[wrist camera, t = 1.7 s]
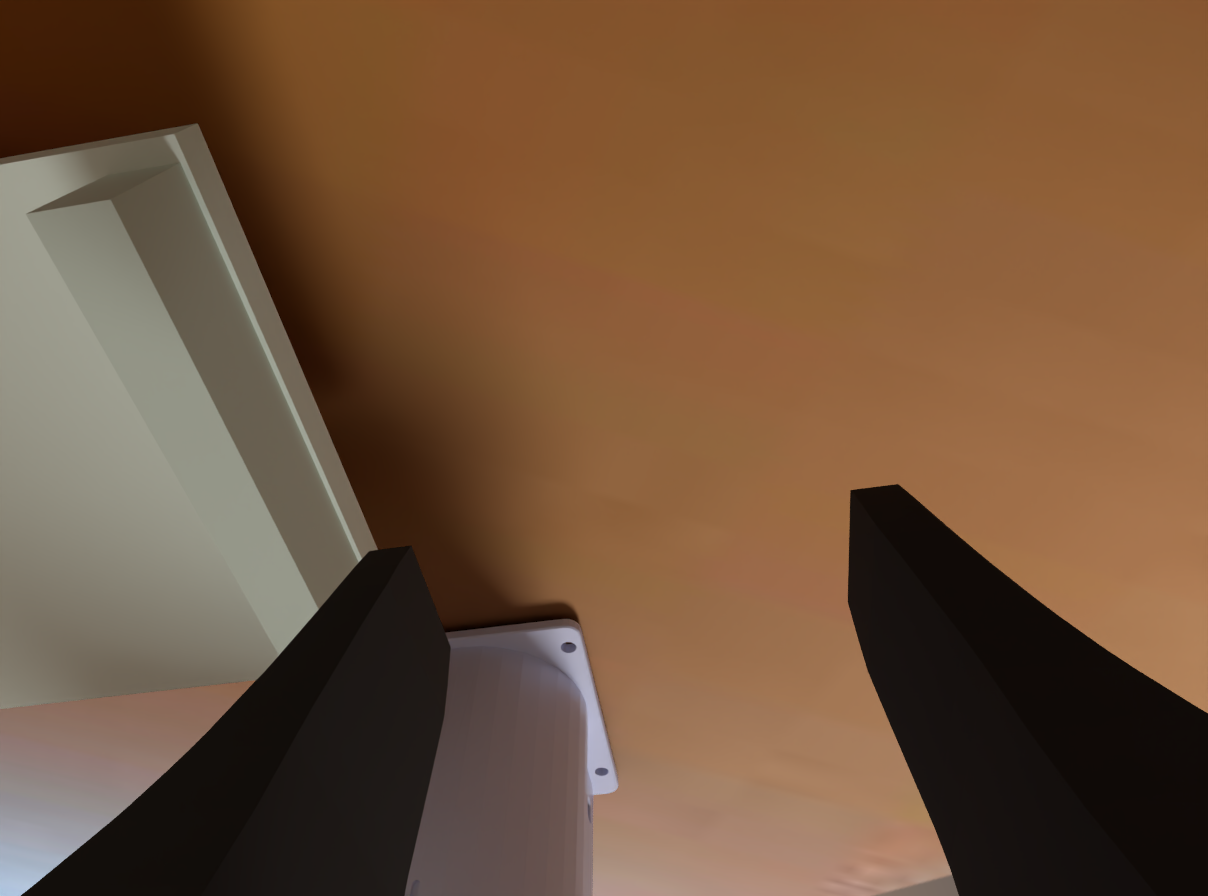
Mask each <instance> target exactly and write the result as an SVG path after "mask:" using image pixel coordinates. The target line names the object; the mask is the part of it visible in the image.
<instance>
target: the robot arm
mask: <svg viewBox="0 0 1208 896" xmlns="http://www.w3.org/2000/svg"><path fill="white" fill-rule="evenodd" d="M848 604H849V608H850V611H851V615H852V618H853V622H854V625H855V629H856V632H857V636H858V640H859V643H860V646H861V650H862V653H863V656H864V660H865V663H866V666H867V670H868V672H869V675H870V677H871V679H872V682H873V684H874V687H875V689H876V692H877V694H878V696H879V699H880V701H881V703H882V706H883V708H884V710H885V713H886V715H887V718H888V720H889V722H890V725H891V727H892V729H893V732H894V734H895V736H896V739H897V741H898V743H899V746H900V748H901V750H902V753H903V755H904V757H905V760H906V762H907V764H908V767H909V769H910V771H911V774H912V776H913V778H914V781H915V783H916V785H917V788H918V790H919V792H920V795H921V797H922V799H923V802H924V804H925V806H926V809H927V811H928V813H929V816H930V818H931V820H932V823H933V825H934V827H935V830H936V832H937V835H938V838H939V840H940V843H941V845H942V848H943V851H944V853H945V856H946V858H947V861H948V864H949V866H950V869H951V872H952V875H953V878H954V881H955V885H956V888H957V891H958V894H959V896H1208V713H1206V712H1204V711H1203V710H1201V709H1199V708H1198V707H1196V706H1194V705H1193V704H1191V703H1190V702H1188V701H1186V700H1185V699H1183V698H1182V697H1180V696H1178V695H1177V694H1175V693H1173V692H1172V691H1170V690H1169V689H1167V688H1165V687H1164V686H1162V685H1161V684H1159V683H1157V682H1156V681H1154V680H1153V679H1151V678H1149V677H1148V676H1146V675H1144V674H1143V673H1141V672H1140V671H1138V670H1136V669H1135V668H1133V667H1132V666H1130V665H1129V664H1127V663H1126V662H1124V661H1123V660H1121V659H1120V658H1118V657H1117V656H1115V655H1114V654H1112V653H1111V652H1109V651H1107V650H1106V649H1105V648H1103V647H1102V646H1100V645H1099V644H1097V643H1096V642H1094V641H1093V640H1092V639H1090V638H1089V637H1087V636H1086V635H1085V634H1083V633H1082V632H1080V631H1079V630H1078V629H1076V628H1075V627H1073V626H1072V625H1071V624H1069V623H1068V622H1066V621H1065V620H1064V619H1062V618H1061V617H1059V616H1058V615H1057V614H1055V613H1054V612H1053V611H1051V610H1050V609H1049V608H1047V607H1046V606H1045V605H1043V604H1042V603H1041V602H1040V601H1038V600H1037V599H1036V598H1034V597H1033V596H1032V595H1030V594H1029V593H1028V592H1027V591H1025V590H1024V589H1023V588H1022V587H1020V586H1019V585H1018V584H1017V583H1015V582H1014V581H1013V580H1011V579H1010V578H1009V577H1008V576H1006V575H1005V574H1004V573H1003V572H1001V571H1000V570H999V569H998V568H996V567H995V566H994V565H993V564H991V563H990V562H989V561H988V560H986V559H985V558H984V557H983V556H982V555H980V554H979V553H978V552H977V551H976V550H974V549H973V548H972V547H971V546H970V545H968V544H967V543H966V542H965V541H964V540H963V539H961V538H960V537H959V536H958V535H957V534H955V533H954V532H953V531H952V530H951V529H950V528H948V527H947V526H946V525H945V524H944V523H943V522H942V521H940V520H939V519H938V518H937V517H936V516H935V515H934V514H932V513H931V512H930V511H929V510H928V509H927V508H925V507H924V506H923V505H922V504H921V503H920V502H919V501H917V500H916V499H915V498H914V497H913V496H912V495H911V494H909V493H908V492H907V491H906V490H905V489H903V488H902V487H901V486H900V485H898V484H896V485H888V486H880V487H872V488H864V489H857V490H851V495H850V536H849V576H848ZM566 642H572V644H566ZM617 788H618V775H617V771H616V767H615V763H614V759H613V755H612V751H611V747H610V743H609V739H608V735H607V731H606V727H605V723H604V719H603V715H602V711H601V707H600V703H599V699H598V695H597V690H596V686H595V682H594V678H593V674H592V670H591V666H590V662H589V658H588V654H587V650H586V646H585V642H584V638H583V634H582V630H581V627H580V625H579V624H578V623H577V622H576V621H574V620H571V619H558V620H549V621H541V622H532V623H524V624H515V625H506V626H498V627H489V628H481V629H472V630H463V631H455V632H446V633H445V631H444V629H443V626H442V623H441V621H440V618H439V616H438V613H437V611H436V608H435V605H434V603H433V600H432V598H431V595H430V593H429V590H428V587H427V585H426V582H425V580H424V577H423V575H422V572H421V569H420V567H419V564H418V562H417V559H416V557H415V554H414V552H413V549H412V546H405V547H397V548H390V549H382V550H374V551H369V552H368V553H367V554H366V555H365V556H364V557H363V558H362V559H361V560H360V562H359V563H358V564H357V565H356V566H355V567H354V568H353V569H352V571H351V572H350V573H349V574H348V575H347V576H346V578H345V579H344V580H343V581H342V582H341V584H340V585H339V586H338V587H337V588H336V589H335V591H334V592H333V593H332V594H331V595H330V597H329V598H328V599H327V600H326V601H325V603H324V604H323V605H322V606H321V607H320V608H319V610H318V611H317V612H316V613H315V614H314V615H313V617H312V618H311V619H310V620H309V621H308V622H307V624H306V625H305V626H304V627H303V628H302V629H301V631H300V632H299V633H298V634H297V635H296V636H295V637H294V639H293V640H292V641H291V642H290V643H289V644H288V645H287V647H286V648H285V649H284V650H283V651H282V652H281V654H280V655H279V656H278V657H277V658H276V659H275V660H274V662H273V663H272V664H271V665H270V666H269V667H268V668H267V669H266V671H265V672H264V673H263V674H262V675H261V676H260V677H259V678H258V679H257V680H256V681H255V682H254V683H253V684H252V685H251V686H250V687H249V689H248V690H247V691H246V692H245V693H244V694H243V695H242V696H241V697H240V698H239V699H238V700H237V701H236V702H235V703H234V704H233V705H232V707H231V708H230V709H229V710H228V711H227V712H226V713H225V714H224V715H223V716H222V717H221V718H220V719H219V720H218V721H217V722H216V723H215V725H214V726H213V727H212V728H211V729H210V730H209V731H208V732H207V733H206V734H205V735H204V736H203V737H202V738H201V739H200V740H199V741H198V742H197V743H196V744H195V745H194V746H193V747H192V748H191V749H190V750H189V751H188V752H187V753H186V754H185V755H184V756H183V757H181V758H180V759H179V760H178V761H177V762H176V763H175V764H174V765H173V766H172V767H171V768H170V769H169V770H168V771H167V772H166V773H165V774H163V775H162V776H161V777H160V778H159V779H158V780H157V781H156V782H155V783H154V784H153V785H151V786H150V787H149V788H148V789H147V790H146V791H145V792H144V793H143V794H142V795H141V796H139V797H138V798H137V799H136V800H135V801H134V802H133V803H132V804H131V805H130V806H128V807H127V808H126V809H125V810H124V811H123V812H122V813H120V814H119V815H118V816H117V817H116V818H115V819H114V820H112V821H111V822H110V823H109V824H108V825H106V826H105V827H104V828H103V829H102V830H100V831H99V832H98V833H97V834H95V835H94V836H93V837H92V838H91V839H89V840H88V841H87V842H86V843H85V844H83V845H82V846H81V847H80V848H78V849H77V850H76V851H75V852H74V853H72V854H71V855H70V856H69V857H68V858H66V859H65V860H64V861H63V862H61V863H60V864H59V865H58V866H57V867H55V868H54V869H53V870H52V871H51V872H49V873H48V874H47V875H46V876H45V877H43V878H42V879H41V880H40V881H38V882H37V883H36V884H35V885H34V886H32V887H31V888H30V889H29V890H27V891H26V892H25V893H23V894H22V895H21V896H593V795H597V794H608V793H612V792H614V791H615V790H616V789H617Z"/></svg>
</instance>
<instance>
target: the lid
mask: <svg viewBox="0 0 1208 896" xmlns="http://www.w3.org/2000/svg"><path fill="white" fill-rule="evenodd" d="M374 550H378V549H377V546H376V544H375V542H374V539H373V537H372V535H371V532H370V530H369V527H368V525H367V523H366V520H365V518H364V516H363V513H362V511H361V508H360V506H359V504H358V501H357V499H356V497H355V494H354V492H353V490H352V487H351V485H350V482H349V480H348V478H347V475H346V473H345V471H344V468H343V466H342V464H341V461H340V459H339V456H338V454H337V452H336V449H335V447H334V445H333V442H332V440H331V437H330V435H329V433H328V430H327V428H326V426H325V423H324V421H323V419H322V416H321V414H320V411H319V409H318V407H317V404H316V402H315V400H314V397H313V395H312V393H311V390H310V388H309V385H308V383H307V381H306V378H305V376H304V374H303V371H302V369H301V366H300V364H299V362H298V359H297V357H296V355H295V352H294V350H293V348H292V345H291V343H290V340H289V338H288V336H287V333H286V331H285V329H284V326H283V324H282V321H281V319H280V317H279V314H278V312H277V310H276V307H275V305H274V303H273V300H272V298H271V295H270V293H269V291H268V288H267V286H266V284H265V281H264V279H263V277H262V274H261V272H260V269H259V267H258V265H257V262H256V260H255V258H254V255H253V253H252V250H251V248H250V246H249V243H248V241H247V239H246V236H245V234H244V232H243V229H242V227H241V224H240V222H239V220H238V217H237V215H236V213H235V210H234V208H233V206H232V203H231V201H230V198H229V196H228V194H227V191H226V189H225V187H224V184H223V182H222V179H221V177H220V175H219V172H218V170H217V168H216V165H215V163H214V161H213V158H212V156H211V153H210V151H209V149H208V146H207V144H206V142H205V139H204V137H203V135H202V132H201V130H200V127H199V125H198V123H196V124H191V125H185V126H180V127H174V128H168V129H163V130H157V131H151V132H146V133H140V134H134V135H129V136H123V137H118V138H112V139H106V140H101V141H95V142H89V143H84V144H78V145H72V146H67V147H61V148H56V149H50V150H44V151H39V152H33V153H27V154H22V155H16V156H11V157H5V158H0V709H5V708H14V707H23V706H32V705H40V704H49V703H58V702H67V701H76V700H84V699H93V698H102V697H111V696H120V695H129V694H137V693H146V692H155V691H164V690H173V689H181V688H190V687H199V686H208V685H217V684H225V683H234V682H243V681H252V680H257V679H258V678H259V677H260V676H261V675H262V674H263V673H264V672H265V671H266V669H267V668H268V667H269V666H270V665H271V664H272V663H273V662H274V660H275V659H276V658H277V657H278V656H279V655H280V654H281V652H282V651H283V650H284V649H285V648H286V647H287V645H288V644H289V643H290V642H291V641H292V640H293V639H294V637H295V636H296V635H297V634H298V633H299V632H300V631H301V629H302V628H303V627H304V626H305V625H306V624H307V622H308V621H309V620H310V619H311V618H312V617H313V615H314V614H315V613H316V612H317V611H318V610H319V608H320V607H321V606H322V605H323V604H324V603H325V601H326V600H327V599H328V598H329V597H330V595H331V594H332V593H333V592H334V591H335V589H336V588H337V587H338V586H339V585H340V584H341V582H342V581H343V580H344V579H345V578H346V576H347V575H348V574H349V573H350V572H351V571H352V569H353V568H354V567H355V566H356V565H357V564H358V563H359V562H360V560H361V559H362V558H363V557H364V556H365V555H366V554H367V553H368V552H369V551H374Z"/></svg>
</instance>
